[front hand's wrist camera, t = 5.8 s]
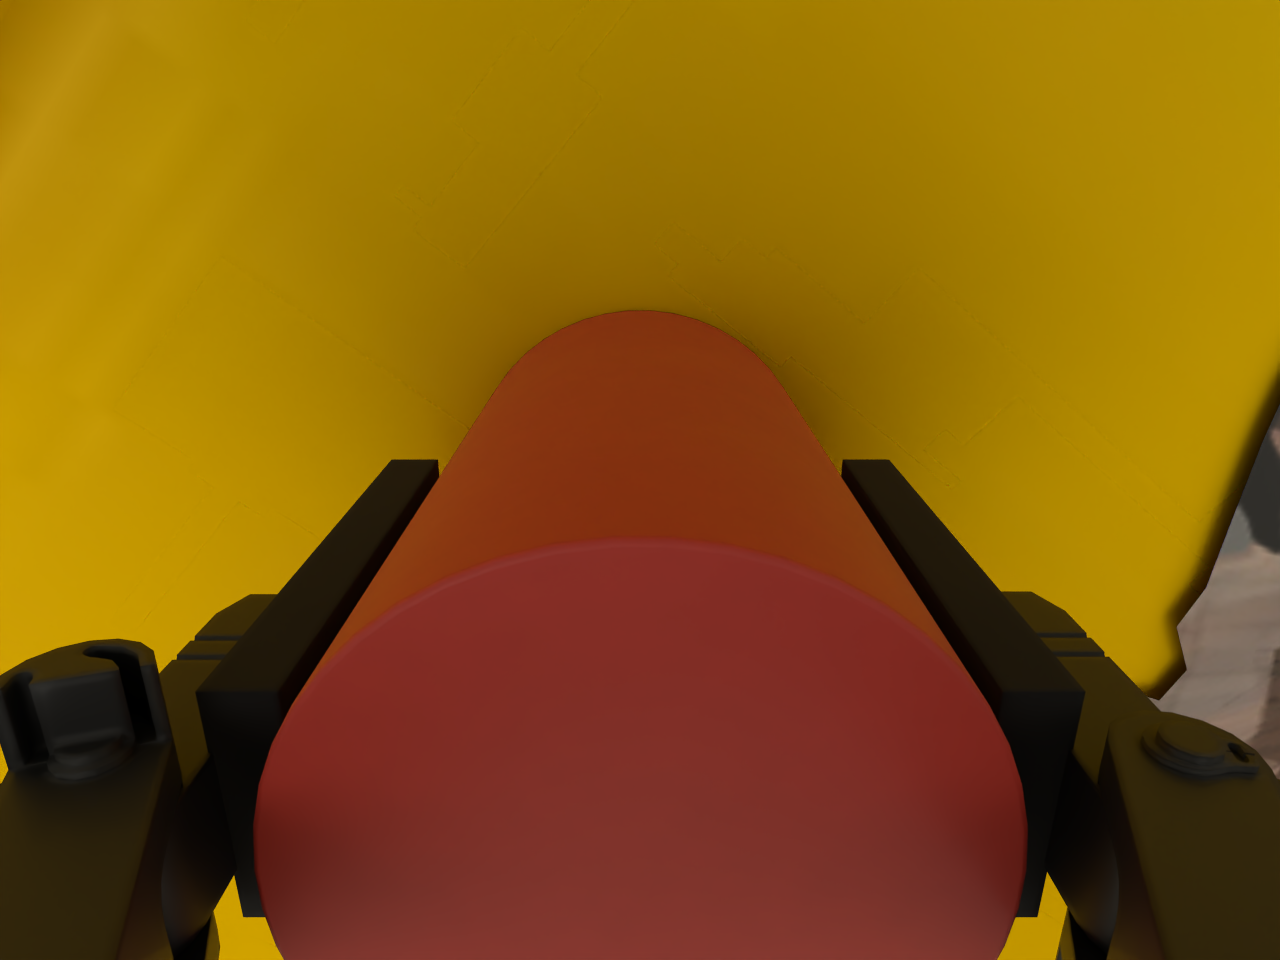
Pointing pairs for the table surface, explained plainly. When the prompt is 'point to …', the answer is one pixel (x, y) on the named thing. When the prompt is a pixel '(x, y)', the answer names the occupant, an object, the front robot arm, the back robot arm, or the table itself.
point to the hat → (1239, 621)
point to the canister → (640, 698)
